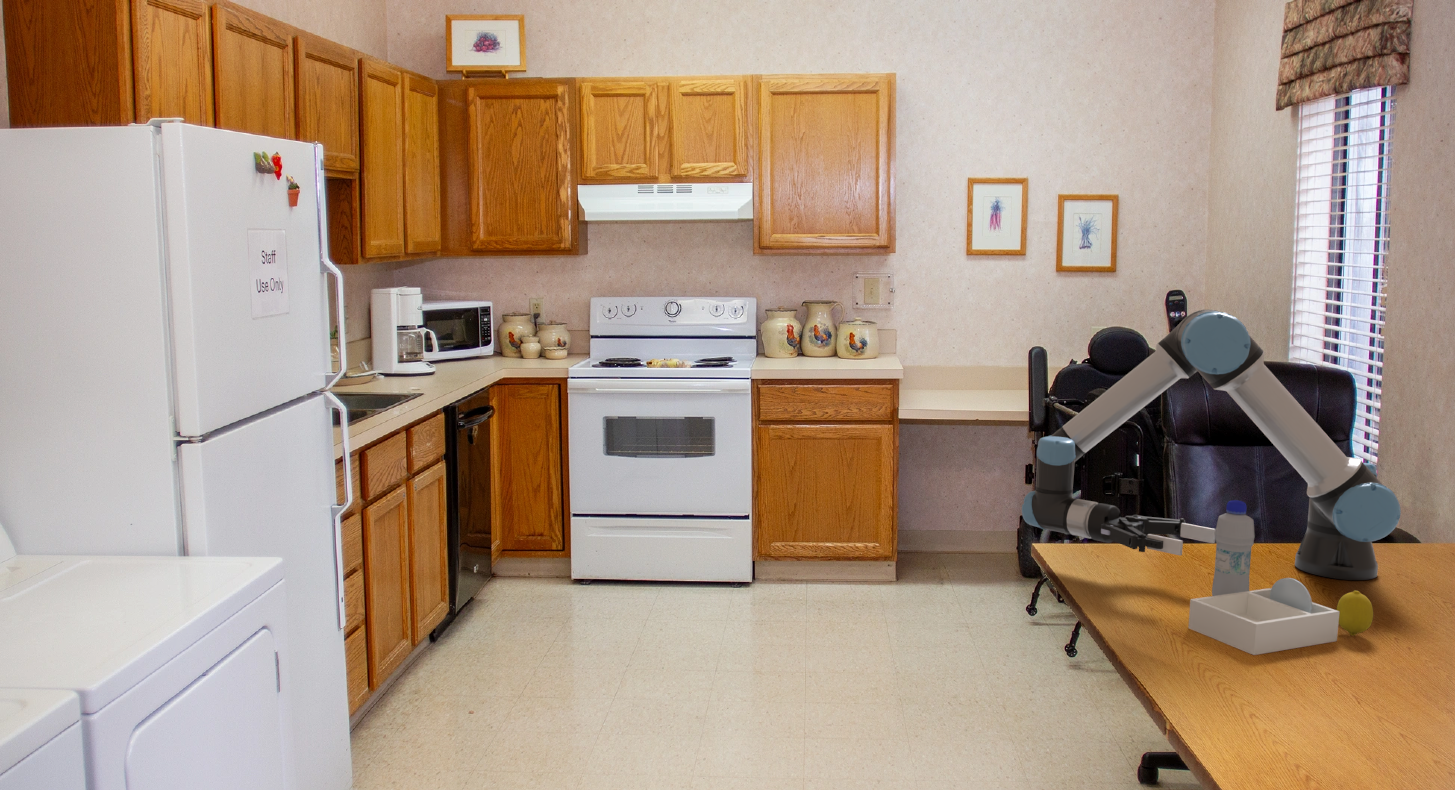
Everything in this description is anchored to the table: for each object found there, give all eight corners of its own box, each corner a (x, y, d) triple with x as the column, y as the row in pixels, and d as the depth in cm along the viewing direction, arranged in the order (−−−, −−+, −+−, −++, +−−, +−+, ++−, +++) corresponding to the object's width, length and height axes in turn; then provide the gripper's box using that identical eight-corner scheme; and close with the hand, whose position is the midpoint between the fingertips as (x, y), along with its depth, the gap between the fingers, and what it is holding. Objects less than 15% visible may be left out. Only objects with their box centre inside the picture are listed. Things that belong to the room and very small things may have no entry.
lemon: (1375, 642, 189) (1380, 596, 188) (1340, 639, 190) (1344, 594, 189) (1364, 631, 195) (1368, 587, 194) (1329, 629, 196) (1333, 584, 195)
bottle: (1203, 600, 211) (1210, 496, 208) (1237, 599, 212) (1244, 496, 209) (1221, 611, 204) (1229, 504, 202) (1256, 611, 205) (1264, 504, 202)
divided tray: (1268, 615, 202) (1272, 566, 201) (1336, 640, 190) (1341, 588, 188) (1188, 627, 195) (1191, 576, 194) (1253, 655, 182) (1258, 600, 181)
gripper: (1125, 529, 235) (1225, 550, 220) (1061, 549, 219) (1165, 573, 203) (1127, 494, 234) (1228, 512, 219) (1063, 512, 218) (1168, 533, 202)
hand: (1198, 542), depth 211 cm, fingers open, 13 cm apart
